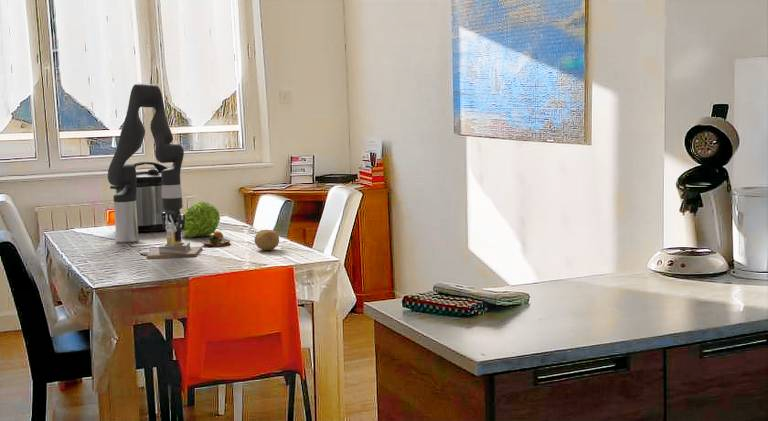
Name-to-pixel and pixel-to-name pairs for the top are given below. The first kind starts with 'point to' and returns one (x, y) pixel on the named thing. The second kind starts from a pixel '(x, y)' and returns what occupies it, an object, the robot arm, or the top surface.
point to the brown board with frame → (174, 251)
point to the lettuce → (200, 220)
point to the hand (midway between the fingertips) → (174, 240)
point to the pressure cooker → (148, 197)
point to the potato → (267, 239)
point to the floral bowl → (216, 240)
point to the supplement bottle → (172, 236)
